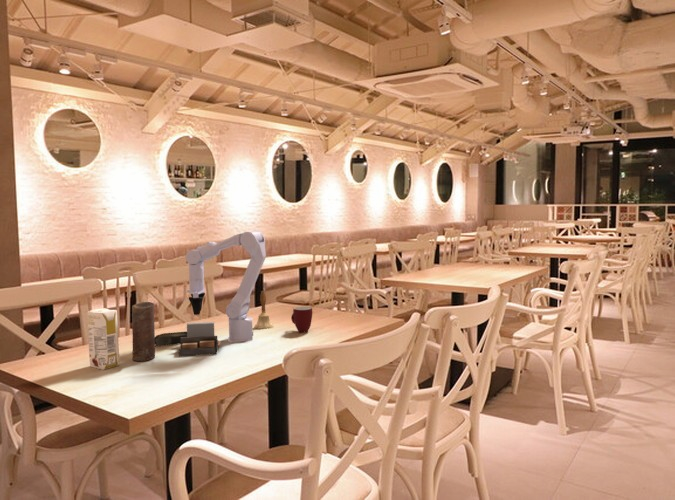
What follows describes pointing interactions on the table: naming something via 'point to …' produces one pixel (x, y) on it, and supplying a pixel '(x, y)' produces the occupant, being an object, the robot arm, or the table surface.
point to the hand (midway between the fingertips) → (197, 312)
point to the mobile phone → (169, 338)
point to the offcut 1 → (189, 345)
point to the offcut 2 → (206, 344)
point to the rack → (198, 346)
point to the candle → (143, 331)
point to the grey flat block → (200, 329)
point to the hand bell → (263, 315)
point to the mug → (302, 318)
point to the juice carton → (103, 338)
